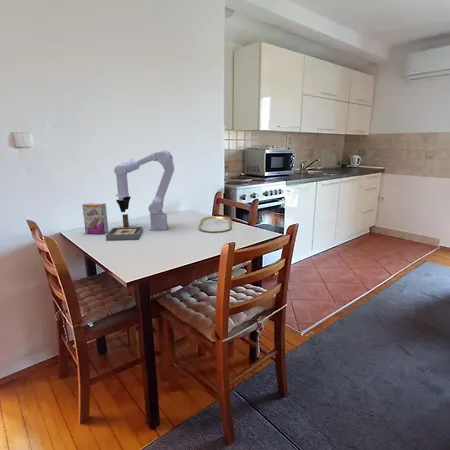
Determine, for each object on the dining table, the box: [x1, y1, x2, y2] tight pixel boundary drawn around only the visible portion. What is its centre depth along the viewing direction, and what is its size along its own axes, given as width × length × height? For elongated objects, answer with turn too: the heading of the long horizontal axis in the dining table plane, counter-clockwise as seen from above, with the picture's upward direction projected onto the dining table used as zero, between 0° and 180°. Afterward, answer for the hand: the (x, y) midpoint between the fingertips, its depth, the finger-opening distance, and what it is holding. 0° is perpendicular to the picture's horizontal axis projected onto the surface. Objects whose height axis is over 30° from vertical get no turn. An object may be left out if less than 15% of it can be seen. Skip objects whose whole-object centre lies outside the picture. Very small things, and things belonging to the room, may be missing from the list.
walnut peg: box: [121, 213, 130, 227], centre depth 187 cm, size 3×3×8 cm
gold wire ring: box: [197, 215, 232, 234], centre depth 194 cm, size 19×35×2 cm, turn 179°
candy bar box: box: [81, 202, 109, 235], centre depth 177 cm, size 11×5×16 cm, turn 84°
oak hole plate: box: [114, 229, 137, 234], centre depth 172 cm, size 10×10×2 cm
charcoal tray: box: [105, 226, 144, 242], centre depth 172 cm, size 16×14×3 cm
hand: (124, 210), depth 185 cm, fingers open, 7 cm apart
